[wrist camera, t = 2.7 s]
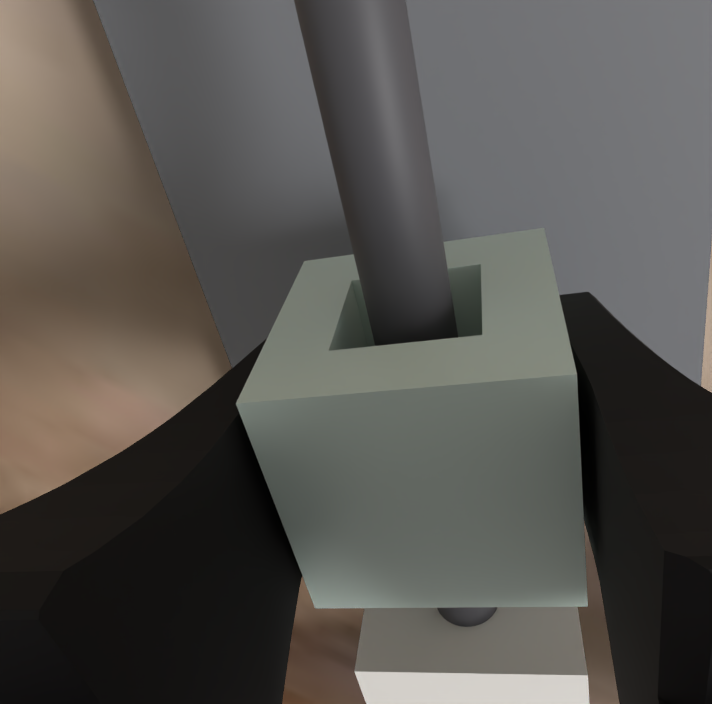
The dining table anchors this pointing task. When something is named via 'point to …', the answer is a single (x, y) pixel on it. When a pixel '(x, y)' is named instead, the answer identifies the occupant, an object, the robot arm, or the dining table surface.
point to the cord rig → (436, 207)
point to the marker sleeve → (427, 439)
